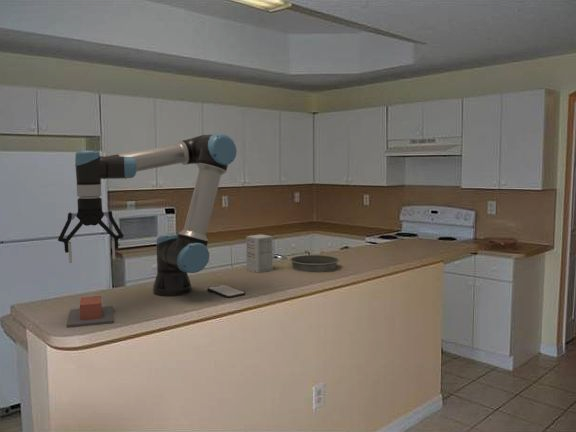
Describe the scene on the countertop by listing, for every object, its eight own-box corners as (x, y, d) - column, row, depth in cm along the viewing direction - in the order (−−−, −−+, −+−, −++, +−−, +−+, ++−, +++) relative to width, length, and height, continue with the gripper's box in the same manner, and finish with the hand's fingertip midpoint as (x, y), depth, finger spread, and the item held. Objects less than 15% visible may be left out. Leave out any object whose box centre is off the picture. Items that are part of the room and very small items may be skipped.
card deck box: (101, 318, 166) (101, 303, 165) (80, 320, 164) (79, 305, 163) (101, 309, 175) (101, 295, 175) (81, 311, 173) (80, 297, 173)
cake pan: (316, 261, 270) (316, 253, 270) (349, 269, 251) (349, 260, 251) (279, 267, 255) (279, 258, 255) (312, 275, 236) (312, 266, 236)
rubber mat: (112, 307, 180) (112, 305, 180) (113, 322, 164) (113, 320, 164) (70, 311, 176) (70, 309, 176) (66, 327, 159) (66, 325, 159)
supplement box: (261, 267, 252) (261, 234, 250) (273, 270, 245) (273, 236, 244) (245, 270, 246) (245, 235, 244) (257, 273, 239) (257, 238, 237)
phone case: (246, 296, 200) (224, 288, 212) (246, 292, 199) (224, 284, 211) (227, 300, 194) (205, 291, 206) (228, 296, 194) (205, 287, 206)
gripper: (128, 195, 175) (130, 255, 178) (48, 197, 166) (52, 261, 169) (129, 197, 168) (132, 259, 171) (46, 199, 159) (50, 265, 162)
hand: (92, 260), depth 170 cm, fingers open, 13 cm apart
